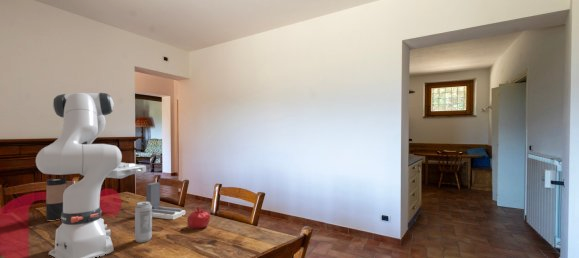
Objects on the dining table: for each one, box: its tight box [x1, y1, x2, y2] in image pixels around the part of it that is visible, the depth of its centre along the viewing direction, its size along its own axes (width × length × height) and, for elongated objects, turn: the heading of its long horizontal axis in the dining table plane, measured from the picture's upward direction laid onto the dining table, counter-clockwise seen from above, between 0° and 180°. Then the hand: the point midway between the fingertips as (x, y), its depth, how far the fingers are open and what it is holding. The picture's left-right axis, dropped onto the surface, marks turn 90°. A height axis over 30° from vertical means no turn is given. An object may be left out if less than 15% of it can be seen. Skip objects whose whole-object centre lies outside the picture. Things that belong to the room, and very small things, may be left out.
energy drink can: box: [134, 201, 153, 244], centre depth 109 cm, size 6×6×15 cm
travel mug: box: [45, 177, 67, 221], centre depth 135 cm, size 8×8×20 cm
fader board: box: [152, 205, 186, 220], centre depth 142 cm, size 21×9×3 cm, turn 72°
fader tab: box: [145, 181, 161, 210], centre depth 144 cm, size 5×6×14 cm
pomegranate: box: [186, 206, 211, 230], centre depth 125 cm, size 10×10×9 cm
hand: (139, 171), depth 147 cm, fingers closed
